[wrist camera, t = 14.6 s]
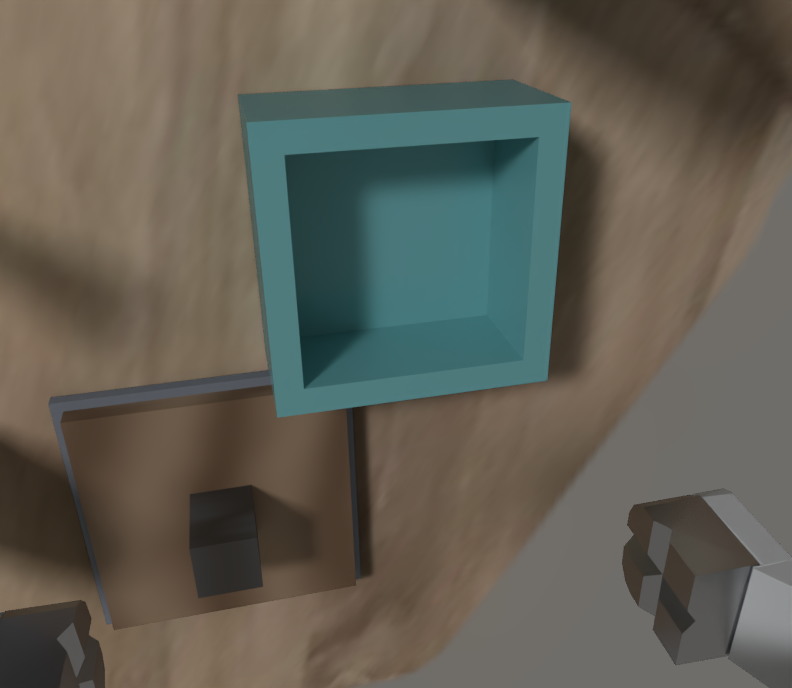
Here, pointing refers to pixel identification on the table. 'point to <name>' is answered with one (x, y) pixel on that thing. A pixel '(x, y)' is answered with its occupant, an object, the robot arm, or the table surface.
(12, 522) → the table surface
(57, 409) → the tray
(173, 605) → the lid
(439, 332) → the dish
